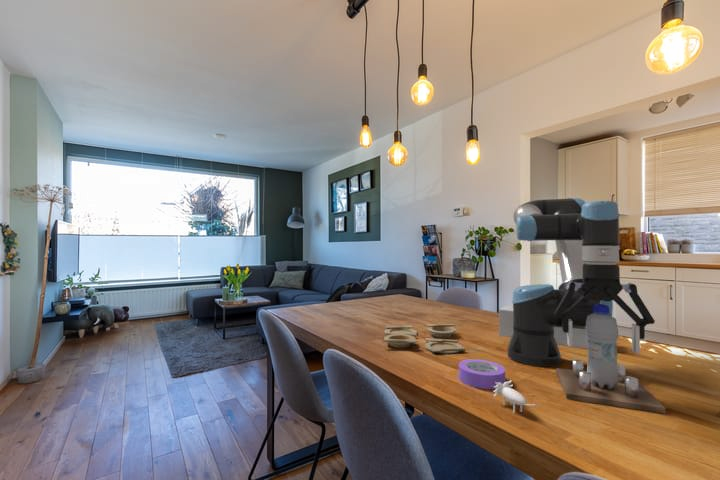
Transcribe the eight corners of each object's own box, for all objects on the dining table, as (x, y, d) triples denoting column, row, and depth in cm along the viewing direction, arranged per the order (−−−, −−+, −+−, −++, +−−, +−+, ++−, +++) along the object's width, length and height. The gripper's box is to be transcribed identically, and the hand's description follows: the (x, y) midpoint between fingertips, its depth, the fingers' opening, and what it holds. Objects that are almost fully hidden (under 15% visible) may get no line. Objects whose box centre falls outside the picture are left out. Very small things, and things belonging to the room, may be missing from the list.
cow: (488, 399, 78) (488, 379, 78) (508, 397, 79) (508, 377, 79) (524, 426, 66) (524, 402, 66) (547, 423, 67) (547, 399, 67)
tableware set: (385, 329, 148) (385, 319, 148) (454, 331, 144) (454, 321, 144) (378, 353, 113) (378, 341, 113) (468, 357, 109) (468, 345, 109)
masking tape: (512, 380, 90) (512, 366, 90) (494, 394, 81) (494, 378, 81) (470, 369, 98) (470, 356, 98) (450, 381, 89) (450, 366, 89)
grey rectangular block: (499, 336, 135) (498, 309, 135) (505, 331, 143) (505, 305, 144) (596, 350, 116) (595, 319, 116) (597, 343, 124) (596, 314, 124)
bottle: (579, 380, 86) (578, 302, 87) (604, 379, 86) (603, 301, 87) (600, 391, 79) (598, 306, 80) (626, 390, 80) (625, 306, 80)
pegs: (580, 390, 80) (580, 373, 80) (571, 373, 90) (571, 359, 90) (640, 398, 75) (639, 380, 75) (623, 380, 86) (623, 364, 86)
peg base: (566, 398, 78) (566, 393, 78) (556, 372, 95) (556, 368, 95) (665, 413, 71) (665, 408, 71) (635, 382, 87) (635, 377, 88)
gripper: (545, 263, 85) (546, 347, 85) (671, 265, 75) (673, 360, 75) (542, 261, 92) (543, 339, 92) (657, 263, 82) (659, 350, 82)
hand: (601, 348), depth 83 cm, fingers open, 13 cm apart
